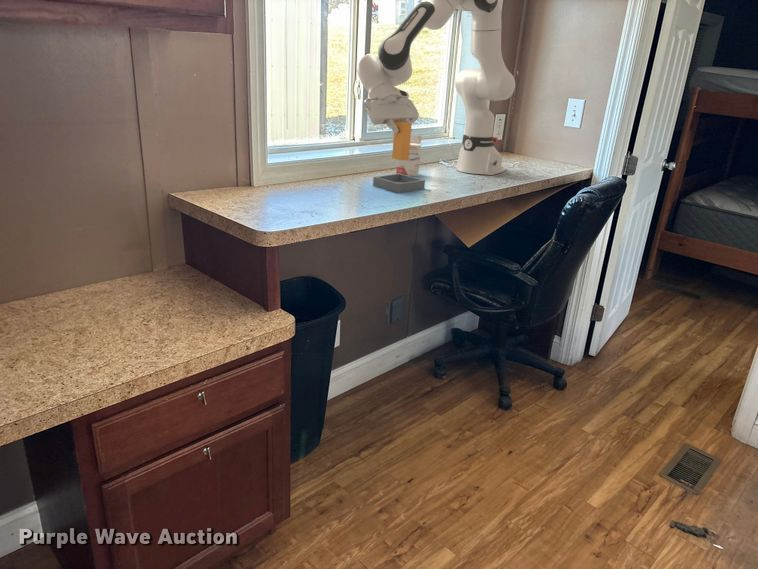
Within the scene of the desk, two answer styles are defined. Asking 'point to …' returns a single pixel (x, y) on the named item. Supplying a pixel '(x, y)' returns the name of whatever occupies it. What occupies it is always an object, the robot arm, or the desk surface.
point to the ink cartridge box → (411, 158)
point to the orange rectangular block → (402, 141)
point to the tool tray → (398, 183)
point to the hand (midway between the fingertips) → (403, 132)
